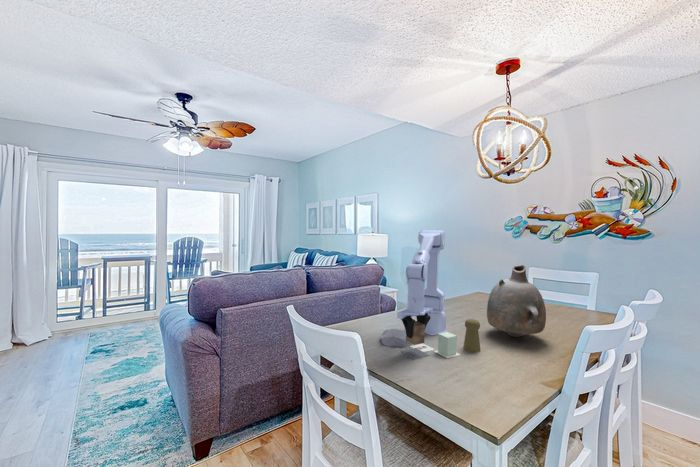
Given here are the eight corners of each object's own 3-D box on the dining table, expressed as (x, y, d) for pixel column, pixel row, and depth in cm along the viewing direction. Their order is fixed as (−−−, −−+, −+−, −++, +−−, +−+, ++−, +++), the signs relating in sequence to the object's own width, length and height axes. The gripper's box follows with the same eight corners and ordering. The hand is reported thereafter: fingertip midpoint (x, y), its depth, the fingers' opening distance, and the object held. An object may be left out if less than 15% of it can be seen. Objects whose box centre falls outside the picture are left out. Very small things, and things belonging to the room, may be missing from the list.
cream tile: (422, 343, 117) (422, 343, 117) (434, 349, 112) (434, 349, 112) (409, 346, 114) (409, 346, 114) (421, 353, 109) (421, 352, 109)
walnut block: (415, 338, 110) (416, 320, 110) (424, 342, 106) (424, 324, 106) (406, 340, 108) (406, 322, 108) (414, 345, 104) (414, 326, 104)
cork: (480, 347, 115) (480, 318, 114) (481, 353, 109) (482, 323, 109) (462, 345, 117) (463, 316, 116) (463, 351, 111) (464, 321, 111)
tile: (446, 348, 113) (446, 348, 113) (460, 355, 108) (460, 354, 108) (433, 351, 110) (433, 351, 110) (447, 358, 104) (447, 358, 104)
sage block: (446, 349, 112) (447, 331, 112) (456, 354, 108) (456, 335, 108) (437, 351, 110) (438, 333, 110) (447, 356, 106) (447, 337, 106)
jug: (472, 331, 132) (474, 262, 132) (504, 324, 142) (506, 260, 141) (527, 352, 111) (530, 270, 110) (561, 343, 120) (563, 267, 120)
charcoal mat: (415, 348, 112) (415, 347, 112) (429, 356, 106) (429, 355, 106) (400, 352, 109) (400, 351, 109) (413, 360, 103) (413, 358, 103)
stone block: (381, 351, 115) (407, 348, 113) (379, 338, 115) (405, 335, 113) (383, 340, 126) (407, 337, 125) (381, 329, 127) (405, 326, 125)
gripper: (406, 302, 100) (405, 343, 100) (439, 298, 107) (438, 336, 107) (393, 297, 106) (393, 336, 107) (425, 294, 113) (424, 330, 113)
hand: (415, 336), depth 107 cm, fingers closed on walnut block, 4 cm apart
